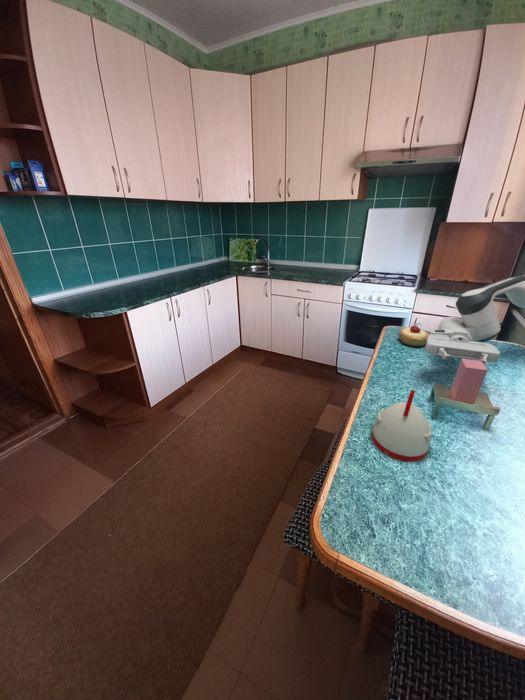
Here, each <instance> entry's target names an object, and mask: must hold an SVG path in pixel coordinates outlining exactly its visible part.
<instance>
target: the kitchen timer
mask: <svg viewBox="0 0 525 700" xmlns="http://www.w3.org/2000/svg"><path fill="white" fill-rule="evenodd" d="M415 393H416V390H414V389H410V392H409V395H408V399H407V400H406V401H407V402H406V401H400V402H396V403H392V404H391V405H390V406H388V407H386V408H384V407H382V408H381V409H380V411H379V412H378V415H377V417H376V419H375V422H374V423H373V427H372V433H371V438H372V441H373V443H374V444H375V446H376V447H377V448H378V449H379V450H380V451H381V452H382V453H383V454H385V455H387V456H388V457H390V458H393V459H395V460H399V461H403V462H417V461H421V460H423V459H424V458H425V457H427V455H428V453H429V450H430V448H431V441H432V435H433V434H432V433H433V429H432V428H433V423H431V422H430V423H429V422H428V420H427V418H426V416H425V414H424V413H423V411H422V410H421V409H420V408H419V407H418V406H417V405H415V404H413V401H414V396H415Z"/></svg>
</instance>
